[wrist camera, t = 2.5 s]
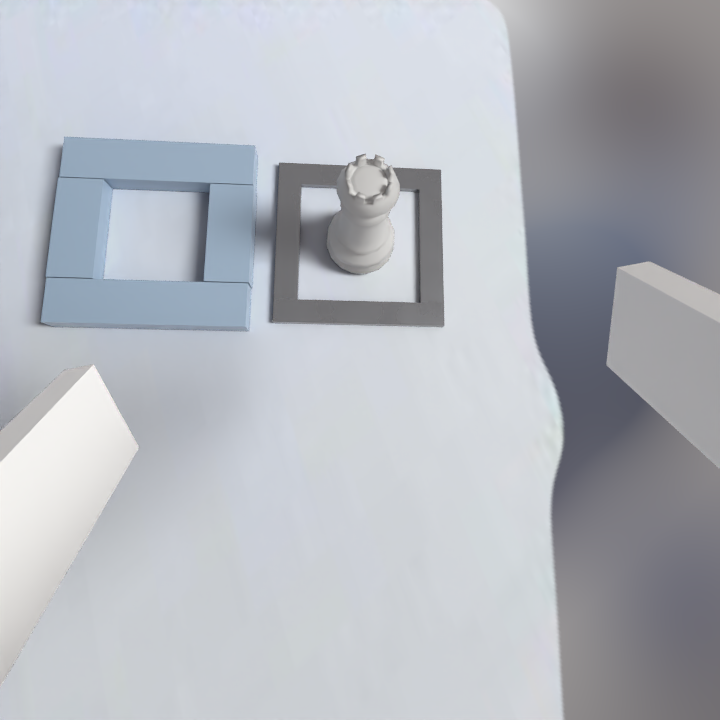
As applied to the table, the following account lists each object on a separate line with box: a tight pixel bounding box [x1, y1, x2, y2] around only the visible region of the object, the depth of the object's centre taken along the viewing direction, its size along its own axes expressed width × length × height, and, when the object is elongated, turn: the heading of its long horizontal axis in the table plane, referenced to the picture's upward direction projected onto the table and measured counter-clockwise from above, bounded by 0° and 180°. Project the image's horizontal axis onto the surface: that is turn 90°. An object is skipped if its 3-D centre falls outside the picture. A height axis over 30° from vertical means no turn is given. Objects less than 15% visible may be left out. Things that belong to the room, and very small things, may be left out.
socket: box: [41, 137, 258, 331], centre depth 28 cm, size 12×12×1 cm
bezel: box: [273, 163, 444, 327], centre depth 29 cm, size 11×11×1 cm
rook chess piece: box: [327, 154, 400, 274], centre depth 26 cm, size 4×4×8 cm
